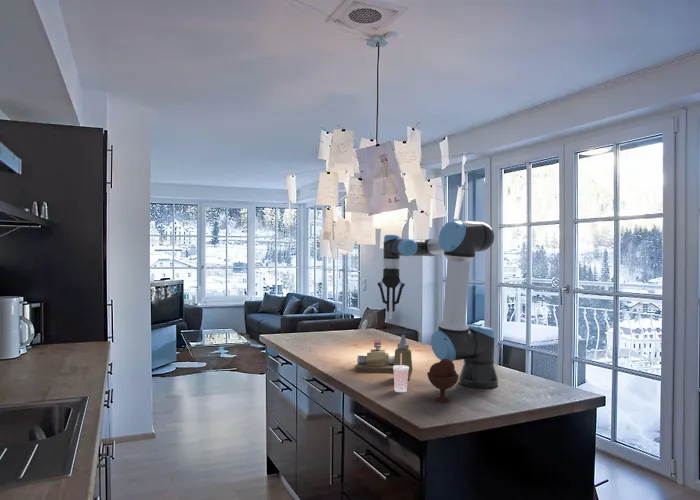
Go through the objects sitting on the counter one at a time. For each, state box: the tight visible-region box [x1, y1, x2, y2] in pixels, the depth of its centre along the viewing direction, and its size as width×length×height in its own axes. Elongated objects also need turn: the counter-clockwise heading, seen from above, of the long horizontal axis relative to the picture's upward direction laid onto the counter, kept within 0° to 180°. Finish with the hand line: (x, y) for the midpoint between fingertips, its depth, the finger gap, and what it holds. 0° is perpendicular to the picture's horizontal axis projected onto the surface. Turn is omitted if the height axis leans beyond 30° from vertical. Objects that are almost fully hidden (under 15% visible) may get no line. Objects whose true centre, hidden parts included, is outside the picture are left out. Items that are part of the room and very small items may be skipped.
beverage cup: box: [393, 353, 409, 393], centre depth 194 cm, size 6×6×14 cm
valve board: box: [356, 348, 395, 374], centre depth 230 cm, size 14×18×8 cm
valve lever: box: [373, 339, 382, 351], centre depth 235 cm, size 14×3×2 cm, turn 178°
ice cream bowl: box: [426, 359, 460, 404], centre depth 182 cm, size 11×11×15 cm
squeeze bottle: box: [393, 334, 413, 380], centre depth 212 cm, size 8×8×18 cm
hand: (390, 318), depth 239 cm, fingers closed
